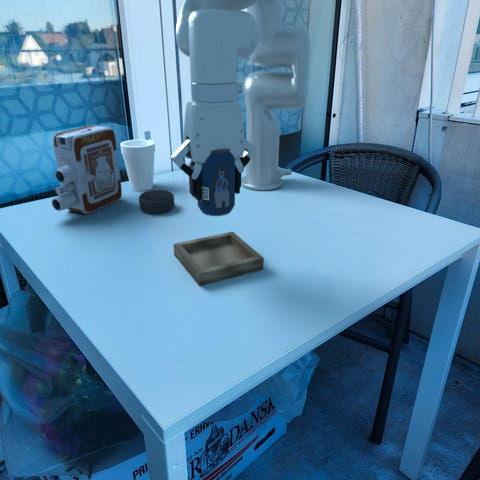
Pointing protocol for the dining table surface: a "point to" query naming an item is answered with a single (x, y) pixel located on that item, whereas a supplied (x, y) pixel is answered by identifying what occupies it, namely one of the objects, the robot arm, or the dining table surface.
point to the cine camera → (86, 169)
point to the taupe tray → (217, 257)
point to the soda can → (218, 184)
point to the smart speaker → (156, 201)
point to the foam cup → (139, 163)
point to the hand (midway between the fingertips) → (216, 194)
